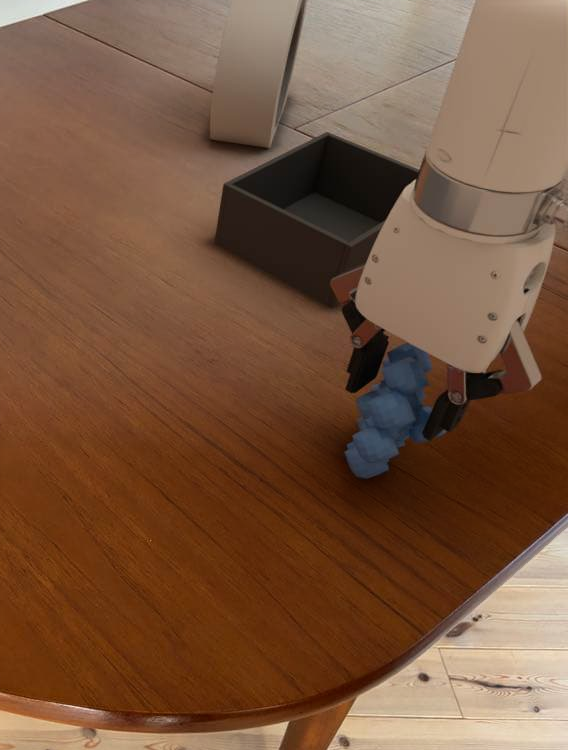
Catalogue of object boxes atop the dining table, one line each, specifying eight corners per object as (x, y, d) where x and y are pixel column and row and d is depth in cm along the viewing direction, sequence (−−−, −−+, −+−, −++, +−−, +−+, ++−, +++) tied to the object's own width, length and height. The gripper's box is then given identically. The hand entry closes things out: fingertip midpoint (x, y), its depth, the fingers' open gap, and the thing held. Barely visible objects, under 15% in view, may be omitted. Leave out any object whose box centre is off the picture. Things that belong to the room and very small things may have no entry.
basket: (430, 247, 91) (453, 183, 86) (332, 312, 83) (351, 246, 78) (312, 192, 100) (327, 131, 94) (213, 246, 92) (223, 183, 87)
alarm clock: (264, 164, 104) (297, -7, 91) (203, 155, 106) (227, -14, 93) (289, 93, 119) (321, -64, 105) (235, 86, 121) (259, -70, 107)
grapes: (401, 536, 64) (465, 426, 55) (312, 499, 66) (361, 388, 58) (431, 438, 71) (492, 327, 63) (350, 408, 73) (398, 296, 65)
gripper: (660, 225, 48) (534, 446, 61) (392, 122, 58) (331, 331, 70) (598, 276, 45) (478, 499, 57) (324, 157, 55) (272, 370, 67)
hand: (398, 404), depth 64 cm, fingers closed on grapes, 5 cm apart
